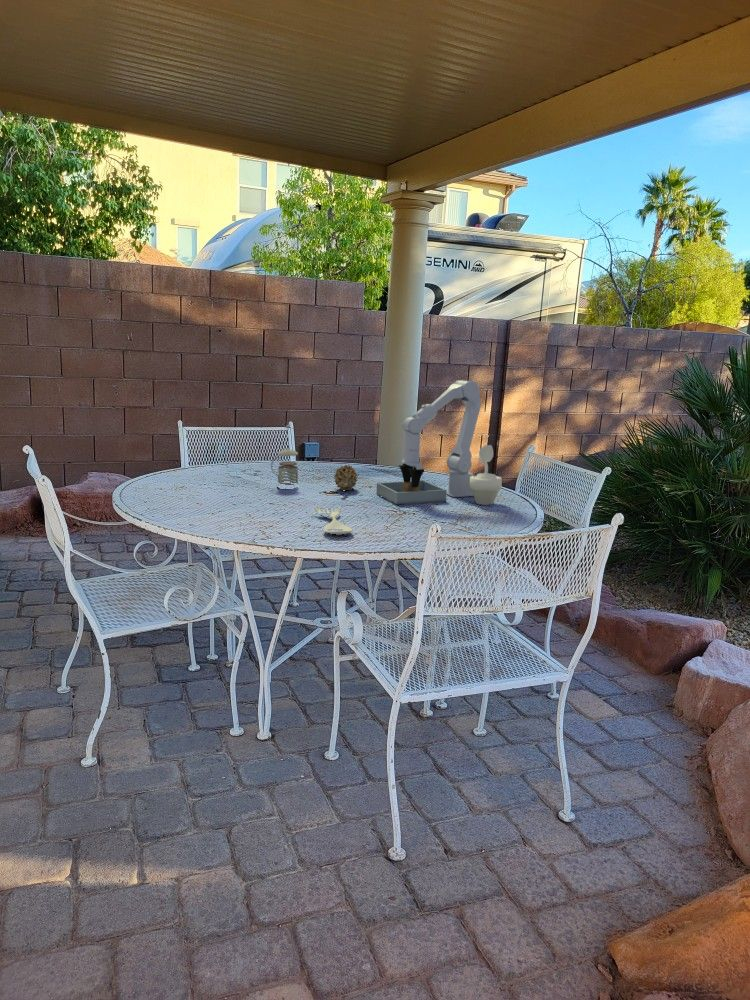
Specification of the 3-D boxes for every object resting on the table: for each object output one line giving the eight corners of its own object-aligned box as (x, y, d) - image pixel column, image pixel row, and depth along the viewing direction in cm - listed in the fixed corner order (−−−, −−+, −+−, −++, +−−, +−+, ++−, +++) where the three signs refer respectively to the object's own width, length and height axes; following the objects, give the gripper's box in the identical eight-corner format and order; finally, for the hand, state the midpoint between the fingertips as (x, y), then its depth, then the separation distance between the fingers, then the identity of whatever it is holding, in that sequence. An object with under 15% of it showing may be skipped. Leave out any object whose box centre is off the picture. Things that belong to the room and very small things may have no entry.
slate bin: (423, 491, 290) (423, 480, 289) (446, 501, 272) (446, 490, 271) (376, 494, 283) (376, 482, 282) (396, 505, 265) (396, 492, 264)
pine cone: (334, 486, 297) (334, 462, 295) (357, 486, 297) (358, 462, 295) (332, 497, 276) (332, 471, 273) (357, 497, 276) (357, 471, 274)
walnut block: (413, 494, 280) (413, 481, 279) (419, 496, 276) (419, 483, 275) (401, 495, 278) (401, 482, 277) (407, 497, 274) (407, 484, 273)
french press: (302, 489, 290) (302, 426, 285) (273, 490, 287) (272, 426, 282) (298, 484, 299) (298, 423, 294) (269, 485, 296) (269, 423, 291)
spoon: (340, 514, 249) (340, 504, 249) (355, 539, 219) (355, 527, 218) (313, 515, 248) (313, 505, 247) (325, 540, 217) (325, 528, 216)
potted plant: (500, 507, 264) (504, 438, 258) (467, 505, 266) (470, 437, 261) (501, 500, 276) (505, 434, 271) (470, 498, 278) (473, 433, 273)
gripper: (394, 447, 278) (393, 482, 281) (410, 452, 265) (409, 489, 268) (411, 446, 281) (410, 481, 284) (427, 452, 268) (426, 488, 271)
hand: (410, 485), depth 276 cm, fingers open, 7 cm apart
